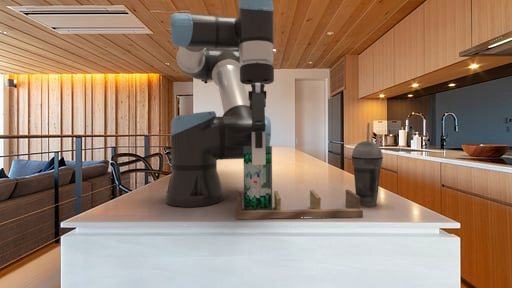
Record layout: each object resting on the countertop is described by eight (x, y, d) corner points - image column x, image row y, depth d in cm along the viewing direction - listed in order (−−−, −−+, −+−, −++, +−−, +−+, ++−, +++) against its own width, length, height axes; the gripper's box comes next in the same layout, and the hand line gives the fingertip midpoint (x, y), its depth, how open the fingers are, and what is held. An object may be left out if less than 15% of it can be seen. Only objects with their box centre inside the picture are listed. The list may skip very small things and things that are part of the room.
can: (241, 215, 67) (240, 147, 66) (249, 207, 73) (248, 145, 72) (268, 216, 66) (267, 147, 65) (274, 209, 71) (273, 145, 70)
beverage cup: (377, 200, 78) (378, 122, 77) (386, 208, 71) (387, 122, 70) (348, 200, 79) (348, 123, 77) (354, 208, 71) (355, 122, 70)
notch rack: (236, 219, 64) (236, 200, 64) (238, 207, 73) (238, 191, 73) (362, 217, 64) (362, 198, 64) (348, 206, 73) (348, 189, 73)
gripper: (278, 50, 55) (280, 167, 56) (270, 74, 80) (271, 155, 81) (237, 51, 55) (239, 168, 56) (241, 75, 80) (242, 155, 81)
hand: (258, 161), depth 68 cm, fingers open, 13 cm apart
